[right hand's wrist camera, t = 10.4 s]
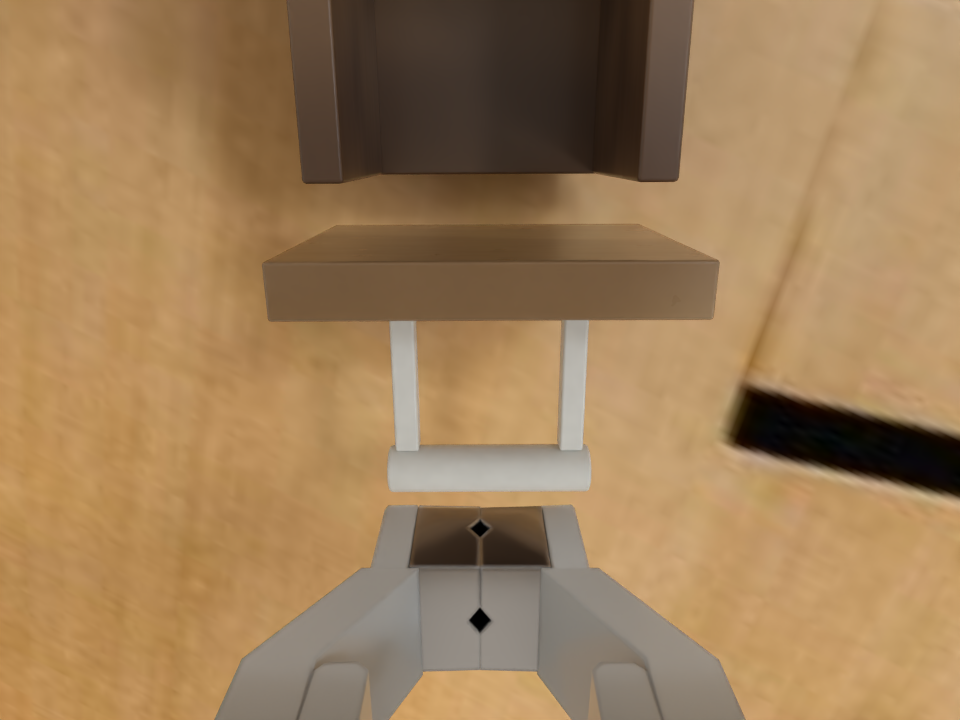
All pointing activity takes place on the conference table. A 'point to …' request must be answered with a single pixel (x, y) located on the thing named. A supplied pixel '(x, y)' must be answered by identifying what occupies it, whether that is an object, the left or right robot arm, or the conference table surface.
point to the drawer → (490, 150)
